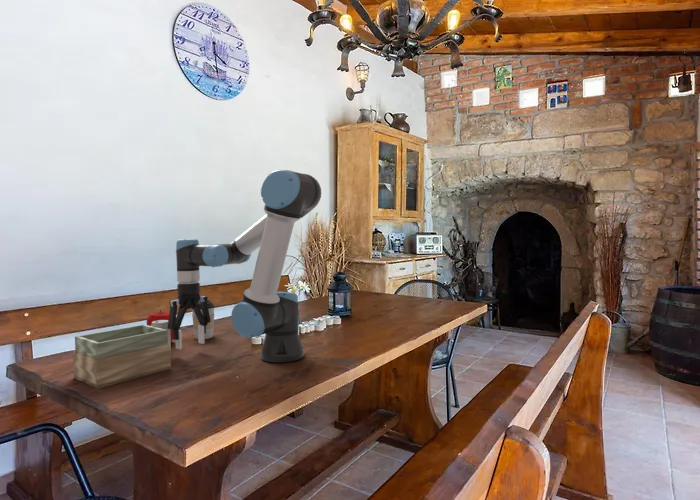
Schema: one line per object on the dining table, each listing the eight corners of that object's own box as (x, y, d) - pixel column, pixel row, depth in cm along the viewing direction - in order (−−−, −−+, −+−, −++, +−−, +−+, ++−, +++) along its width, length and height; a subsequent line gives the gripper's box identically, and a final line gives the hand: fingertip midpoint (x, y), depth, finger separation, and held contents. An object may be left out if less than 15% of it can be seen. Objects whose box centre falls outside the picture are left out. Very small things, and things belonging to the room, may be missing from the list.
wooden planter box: (171, 369, 142) (169, 329, 141) (97, 388, 125) (95, 344, 124) (145, 360, 152) (144, 324, 151) (73, 377, 134) (72, 336, 134)
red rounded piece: (158, 349, 166) (156, 313, 166) (141, 346, 172) (140, 310, 171) (182, 343, 175) (181, 308, 175) (165, 340, 181) (164, 306, 180)
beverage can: (155, 352, 162) (154, 319, 161) (173, 352, 162) (172, 319, 162) (148, 357, 155) (147, 323, 155) (167, 356, 156) (166, 322, 156)
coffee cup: (208, 341, 178) (207, 303, 178) (187, 340, 180) (186, 303, 179) (219, 335, 187) (218, 300, 186) (199, 335, 189) (198, 299, 188)
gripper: (207, 279, 169) (209, 338, 170) (154, 284, 153) (156, 350, 154) (220, 280, 165) (221, 341, 166) (166, 286, 148) (168, 354, 149)
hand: (190, 345), depth 160 cm, fingers open, 8 cm apart
